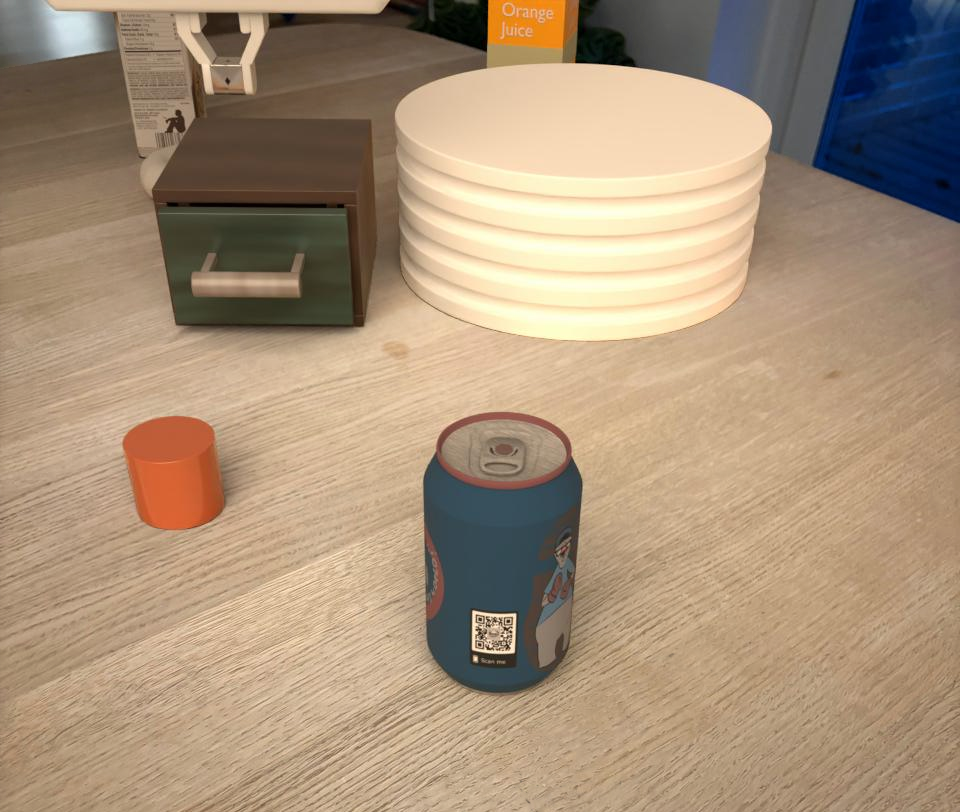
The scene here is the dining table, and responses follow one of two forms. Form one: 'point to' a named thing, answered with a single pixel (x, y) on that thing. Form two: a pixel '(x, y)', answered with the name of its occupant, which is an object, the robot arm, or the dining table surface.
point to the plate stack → (578, 198)
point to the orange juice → (531, 32)
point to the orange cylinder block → (174, 472)
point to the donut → (154, 167)
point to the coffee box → (158, 77)
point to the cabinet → (280, 178)
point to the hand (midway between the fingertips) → (232, 92)
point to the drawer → (258, 263)
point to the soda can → (500, 550)
